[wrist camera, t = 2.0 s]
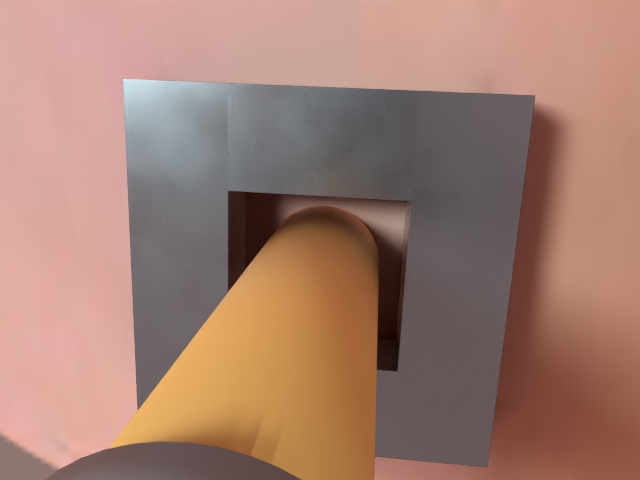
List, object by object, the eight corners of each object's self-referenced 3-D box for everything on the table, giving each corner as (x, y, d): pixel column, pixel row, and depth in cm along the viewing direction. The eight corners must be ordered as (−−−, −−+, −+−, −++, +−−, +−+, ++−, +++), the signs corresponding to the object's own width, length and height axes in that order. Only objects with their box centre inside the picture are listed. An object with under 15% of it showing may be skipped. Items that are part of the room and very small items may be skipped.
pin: (257, 190, 21) (-123, 496, 5) (395, 198, 20) (435, 559, 5) (255, 318, 22) (-55, 878, 6) (385, 328, 21) (392, 954, 6)
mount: (154, 80, 20) (123, 78, 18) (515, 95, 19) (535, 95, 16) (164, 397, 23) (138, 433, 21) (476, 425, 22) (487, 467, 19)
